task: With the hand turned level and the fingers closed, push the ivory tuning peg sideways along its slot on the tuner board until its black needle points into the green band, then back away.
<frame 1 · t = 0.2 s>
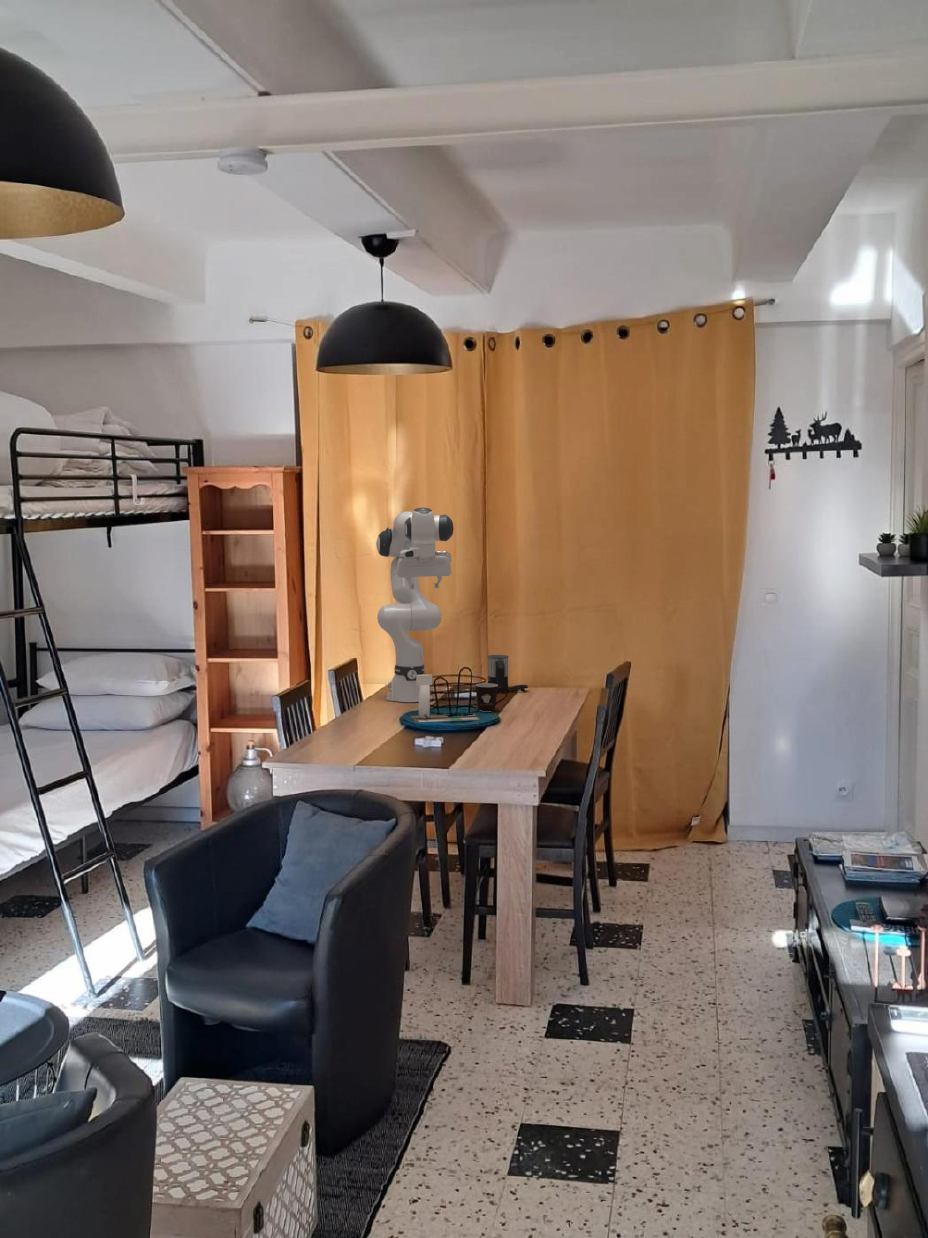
hand: (424, 588, 450), 48 cm above the table, tool pointing down, fingers open, 8 cm apart
tuning peg: (425, 697, 436), point 10 cm above the table, slide at 0.0 cm
coffee mug: (489, 711, 462), on the table
tuner board: (445, 721, 441), on the table
milk frother: (507, 691, 507), on the table
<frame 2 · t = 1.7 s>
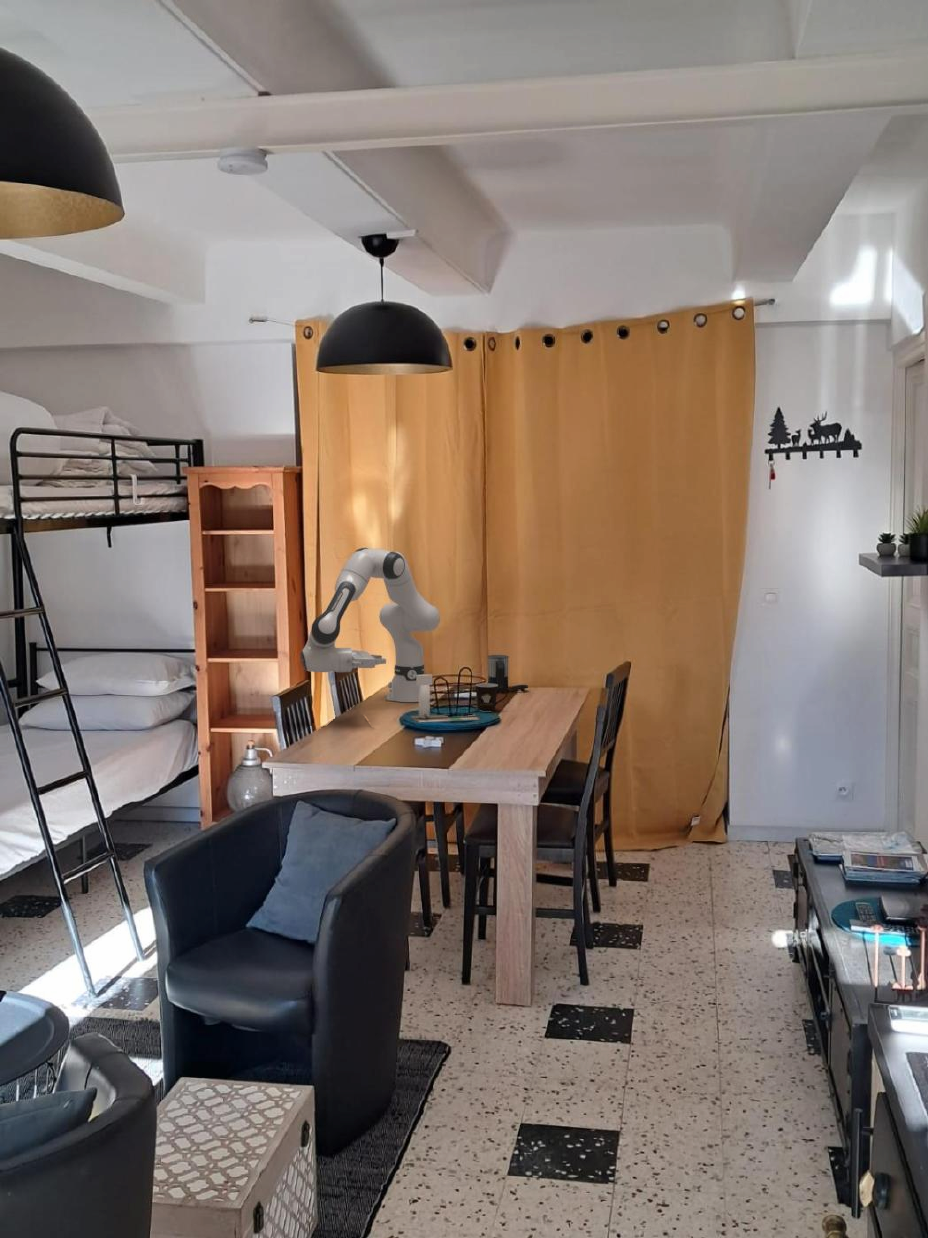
hand: (383, 659, 440), 23 cm above the table, tool horizontal, fingers open, 8 cm apart
nothing on the table moved.
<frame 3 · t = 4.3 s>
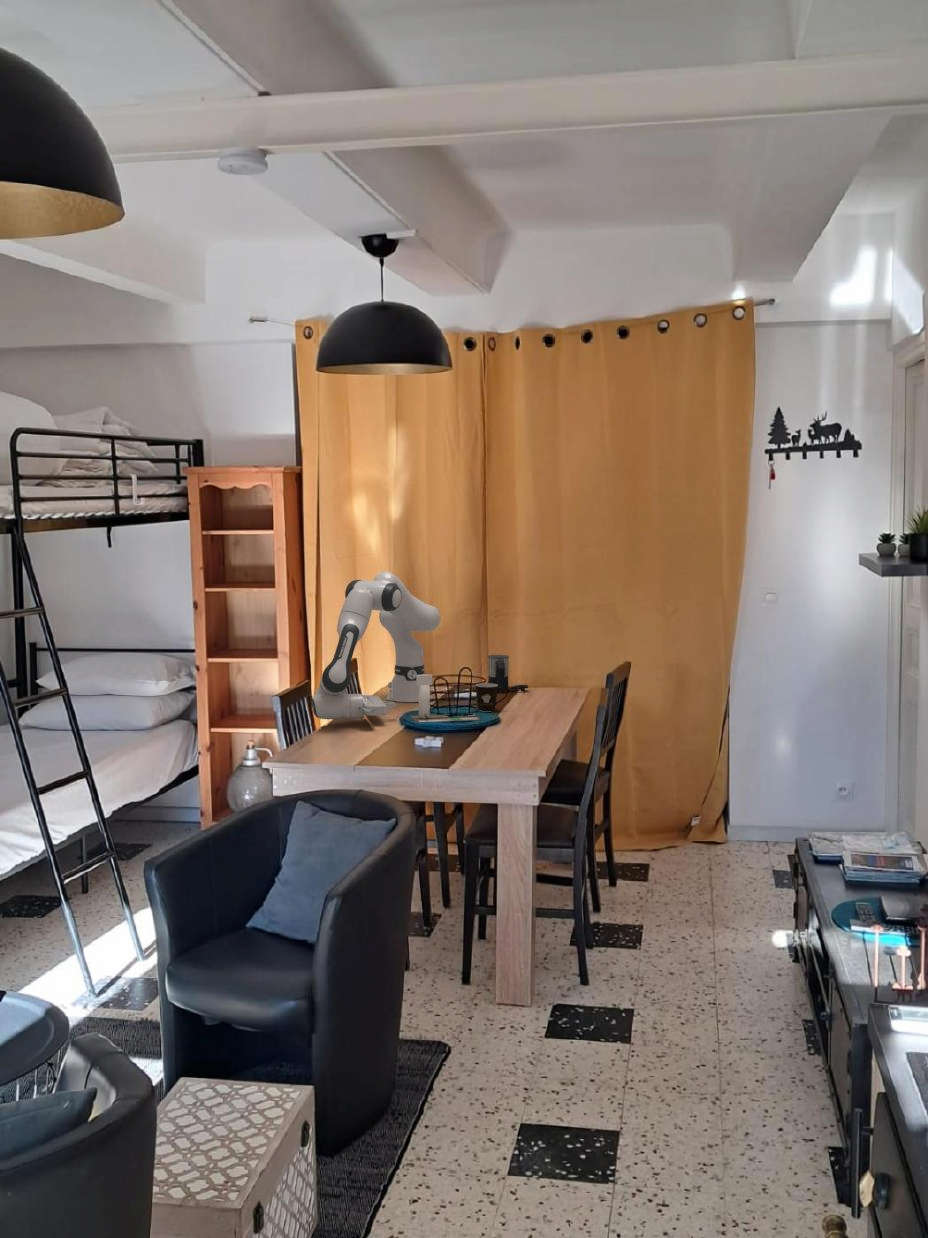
hand: (395, 704, 436), 7 cm above the table, tool horizontal, fingers closed
nothing on the table moved.
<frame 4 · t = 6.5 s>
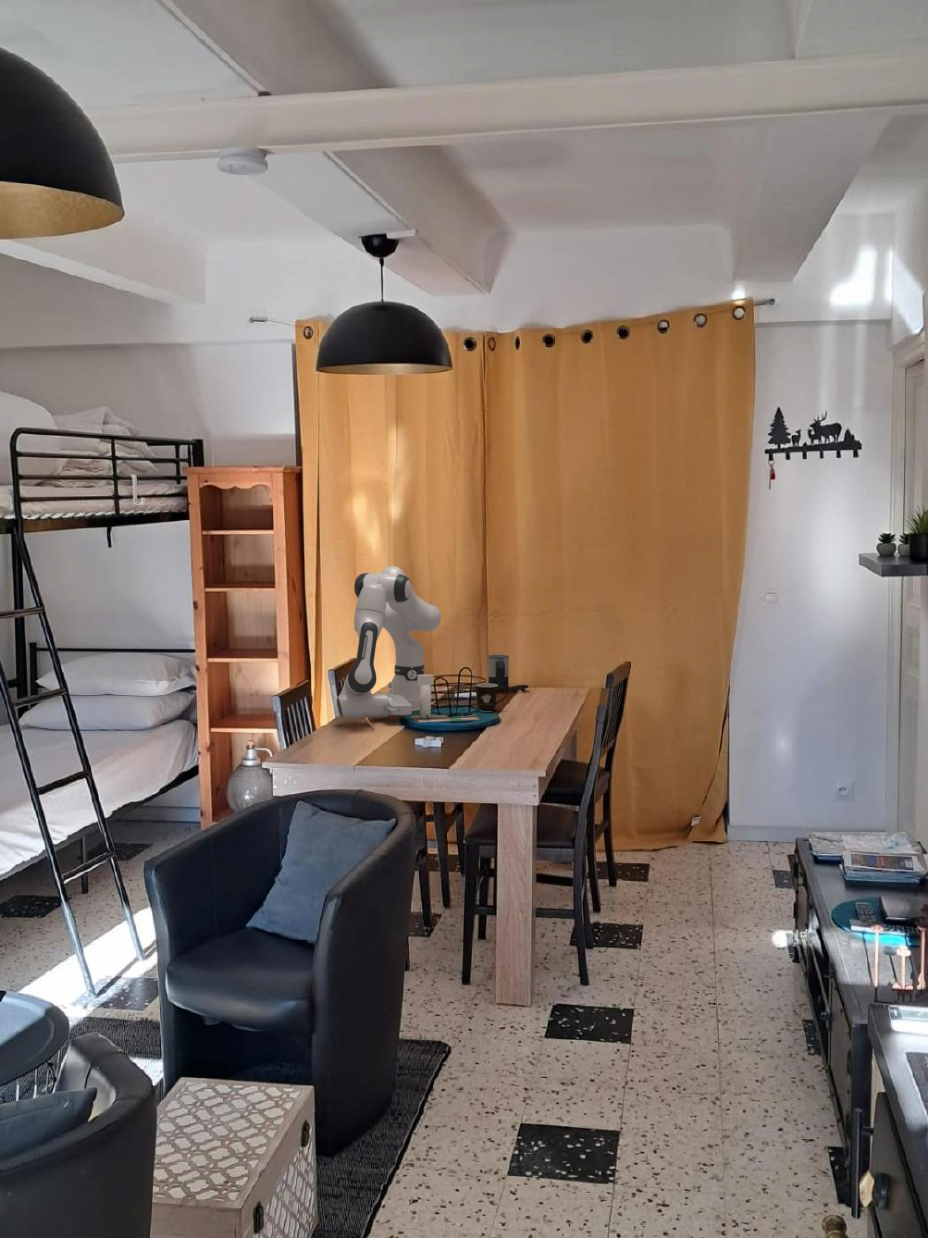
hand: (419, 704, 438), 7 cm above the table, tool horizontal, fingers closed, pressing on tuning peg
tuning peg: (426, 697, 436), point 10 cm above the table, slide at 0.4 cm, touching gripper
everything else where it was.
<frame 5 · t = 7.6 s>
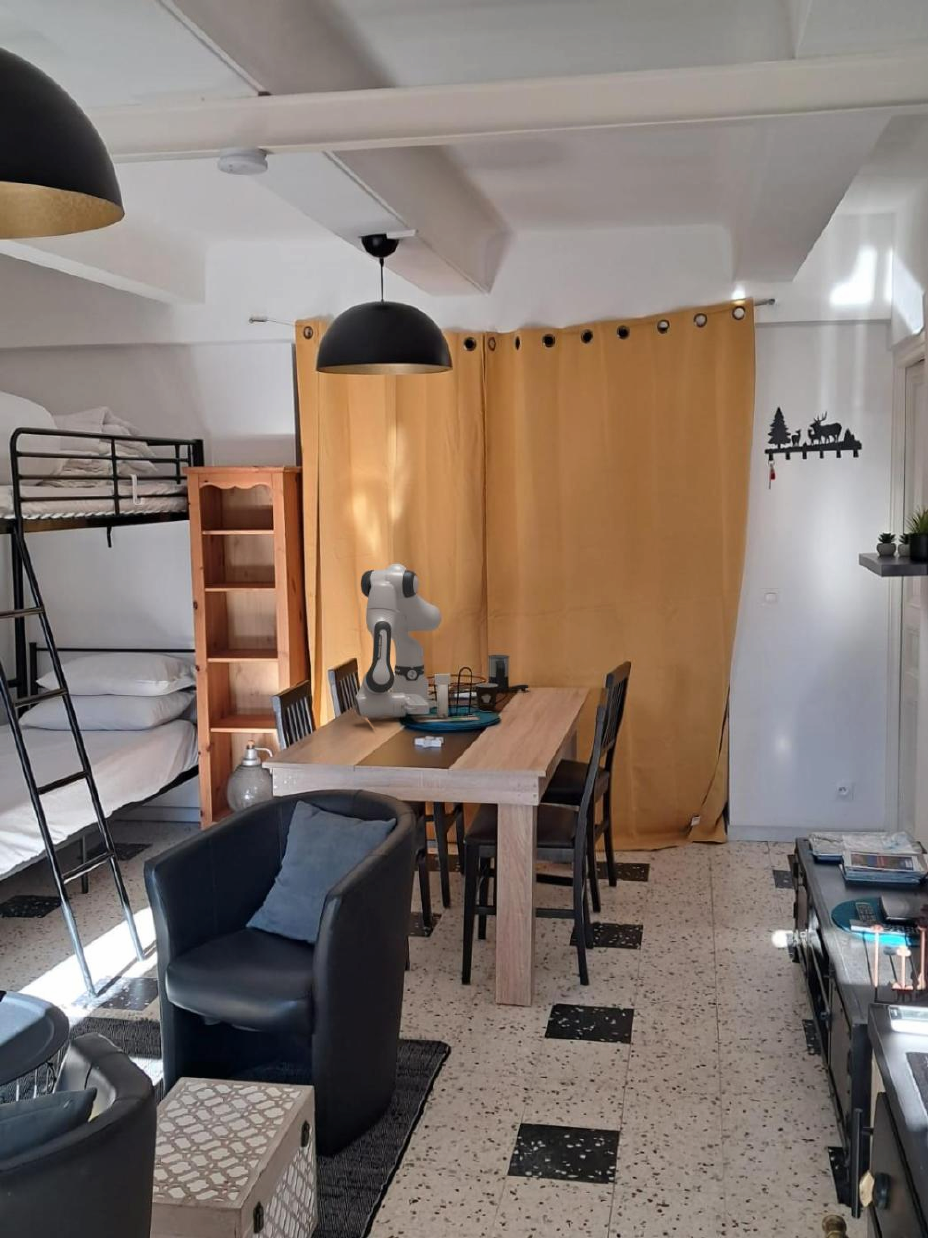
hand: (436, 703, 439), 7 cm above the table, tool horizontal, fingers closed, pressing on tuning peg
tuning peg: (443, 696, 437), point 10 cm above the table, slide at 6.8 cm, touching gripper
everything else where it was.
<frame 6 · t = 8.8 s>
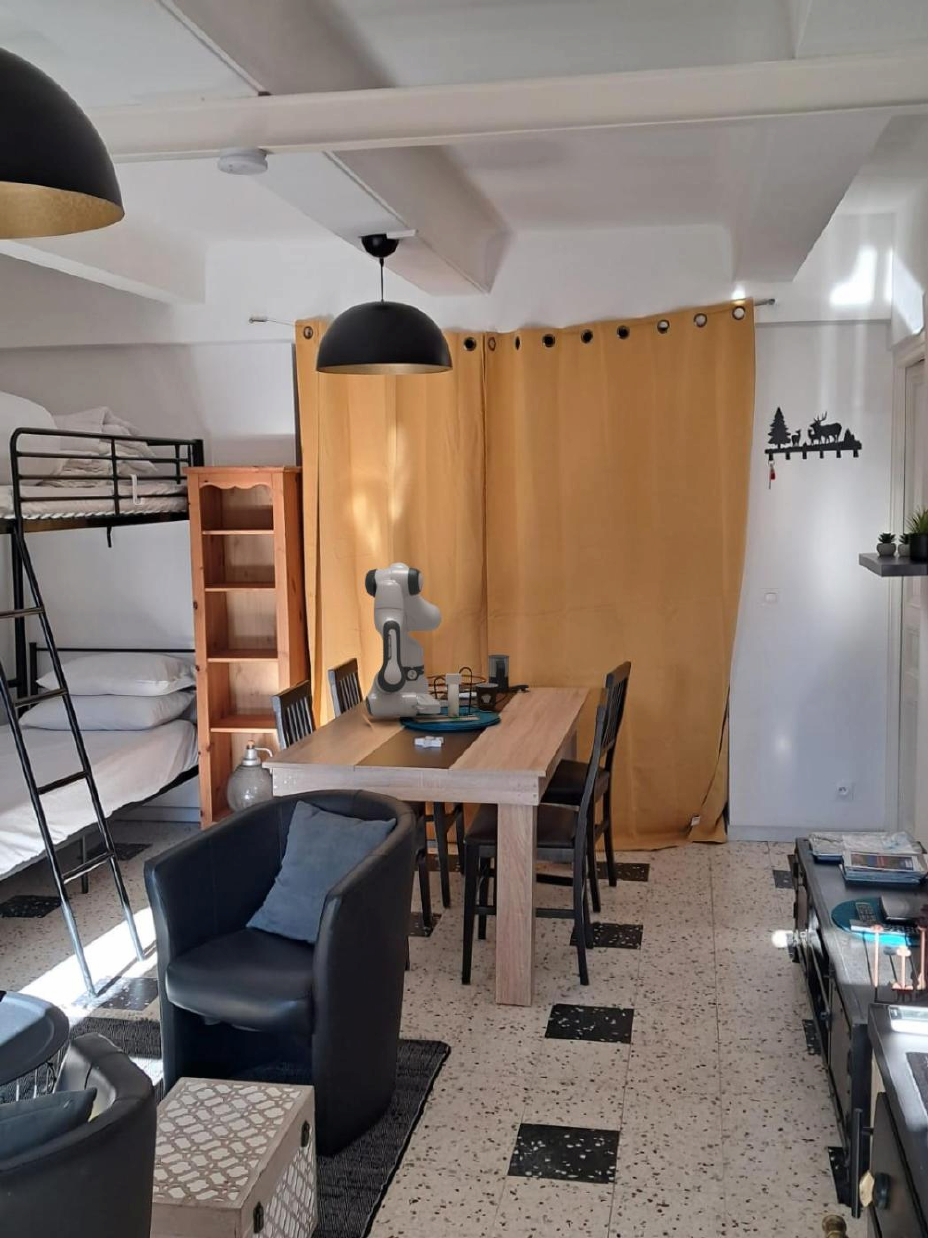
hand: (447, 703, 440), 7 cm above the table, tool horizontal, fingers closed, pressing on tuning peg
tuning peg: (454, 696, 438), point 10 cm above the table, slide at 10.8 cm, touching gripper
everything else where it was.
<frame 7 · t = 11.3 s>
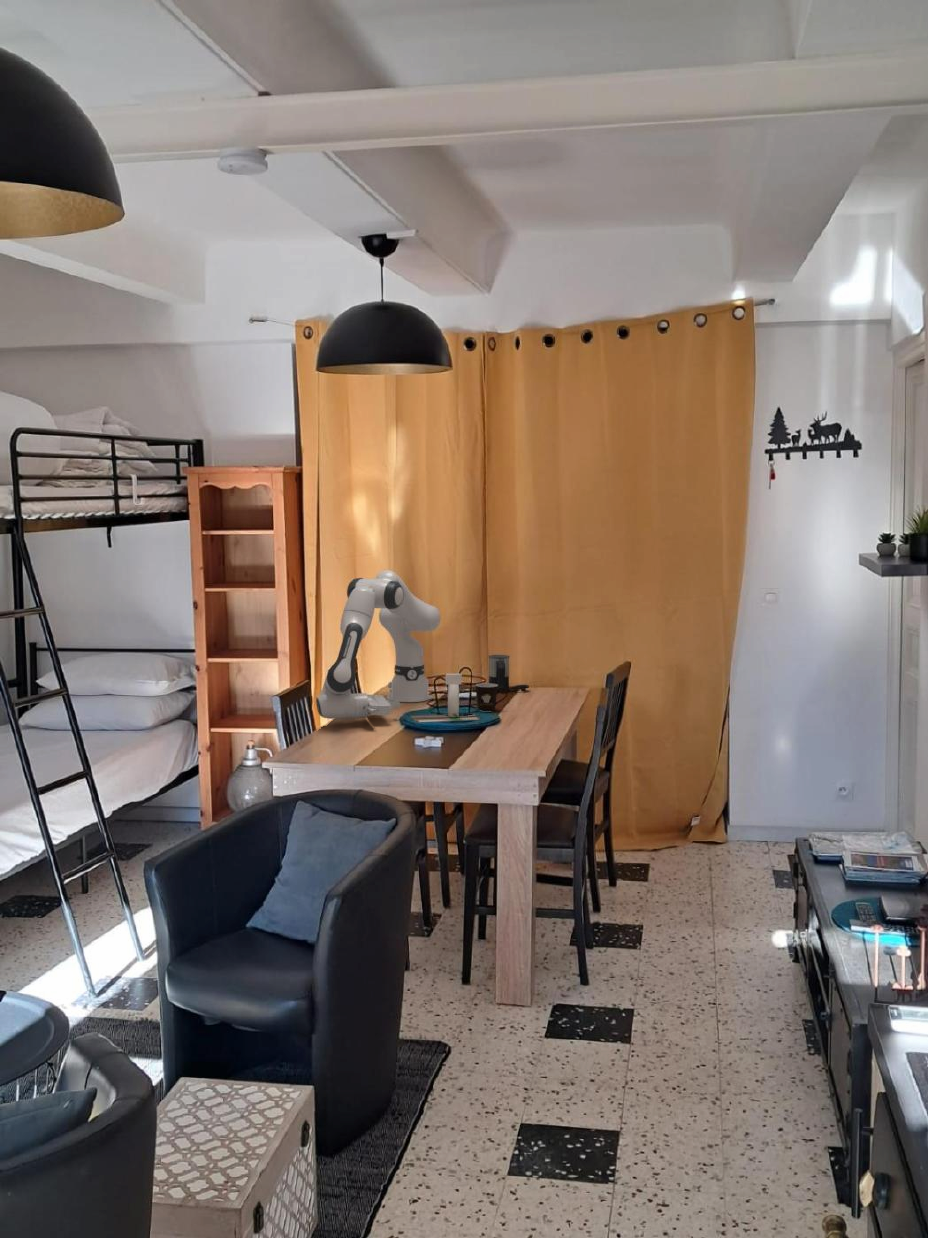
hand: (399, 704, 436), 7 cm above the table, tool horizontal, fingers closed
tuning peg: (454, 696, 438), point 10 cm above the table, slide at 10.9 cm
everything else where it was.
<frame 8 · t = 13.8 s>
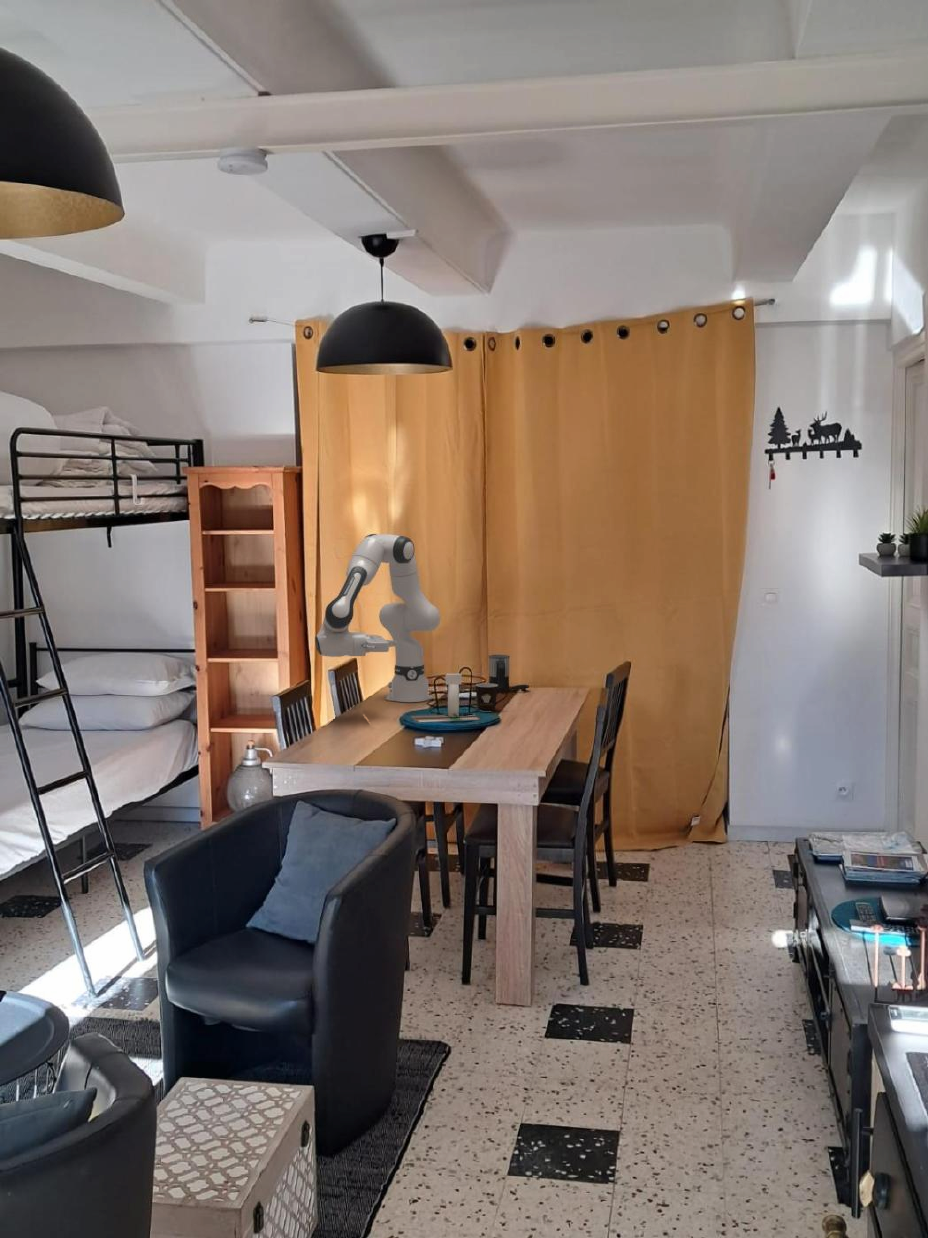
hand: (397, 643, 444), 28 cm above the table, tool horizontal, fingers closed
nothing on the table moved.
at the end: tuning peg slide at 10.9 cm; coffee mug moved 0.2 cm from its start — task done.
